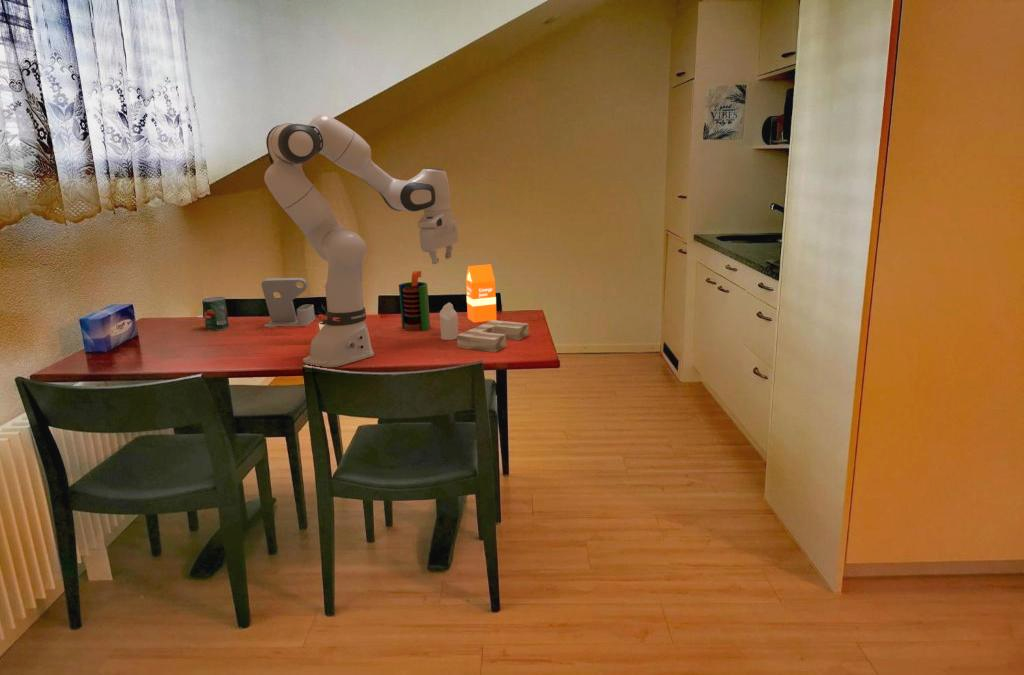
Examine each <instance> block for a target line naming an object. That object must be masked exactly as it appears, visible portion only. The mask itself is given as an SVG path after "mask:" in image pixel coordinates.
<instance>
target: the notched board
mask: <svg viewBox="0 0 1024 675" xmlns="http://www.w3.org/2000/svg"><path fill="white" fill-rule="evenodd" d="M529 335H530V329H529V323H524V322H515V321H505V320H491V321H486V322H484V323H482V324H480V325H478V326H476V327H474V328H473V327H472V328H471V329H468V330H466V331H463V332H460V333H458V335H457V339H456V346H457V348H459V349H466V350H468V349H469V350H475V351H481V352H489V353H497V352H498V351H500V350H503V349H505V348H507V340H513V341H520V340H522V339H525V338H526V337H529Z"/></svg>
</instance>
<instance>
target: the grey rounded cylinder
mask: <svg viewBox="0 0 1024 675" xmlns="http://www.w3.org/2000/svg"><path fill="white" fill-rule="evenodd" d="M439 323H440V339H441V340H444V341H453V340H457V335H459V318H458V313H457V311H456V310H455V309H454V305H453V304H452V303H451V302H447V303H445V304H444V305H443V306H442V309H441V310H440V311H439Z"/></svg>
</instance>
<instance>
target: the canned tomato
mask: <svg viewBox="0 0 1024 675" xmlns="http://www.w3.org/2000/svg"><path fill="white" fill-rule="evenodd" d="M201 303H202V308H203V316H204V323H205V330H206V329H207V330H206V331H208V330H212V331H211V332H214V331H213V330H218V331H223V329H224V330H226V328H227V329H229V328H230V325H229V317H228V310H227V302H226V297H224V296H214V297H213V296H212V297H208V298H207V297H205V298H203V299H202V300H201ZM228 327H229V328H228Z"/></svg>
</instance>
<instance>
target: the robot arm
mask: <svg viewBox="0 0 1024 675" xmlns="http://www.w3.org/2000/svg"><path fill="white" fill-rule="evenodd" d="M265 143H266V149H267V153H268V157H269V163H270V164H271V165H270V166H268V168H267V169H266V170H265V173H264V178H263V179H264V183H265V185H266V187H267V188H268V190H269V191H270V193H271V195H272V196H273V197H274V199H275V201H276V202H277V203H278V204H279V206H280V207H281V208H282V209H283V210H284V211H285V213H286V214H287V216H289V218H290V219H291V220H292V221H293V222H294V223H295V225H296V226H297V227H298V228H299V229H300V230H301V232H302V234H303V235H304V236H305V238H306V240H307V241H308V242H309V244H310V245H311V246H312V248H313V249H314V251H316V254H317V255H318V256H319V257H320V258H321V259H322V260H324V261H325V262H327V266H328V267H327V268H328V269H327V278H326V282H325V286H324V288H325V290H324V291H325V297H326V298H325V299H326V306H327V307H326V308H327V310H325V314H318V315H317V320H318V321H320V322H324V324H323V326H322V327H321V328H320V330H319V331H318V333H317V334H316V335H315V336H314V337H313V339H312V340H311V342H310V345H309V346H310V347H309V348H310V349H309V355H308V356H306V357H304V358H302V363H303V364H305V363H306V365H308V364H310V365H309V366H312V365H315V366H314V367H319V366H322V367H321V368H337V367H341V366H345V365H347V364H350V363H353V362H357V361H361V360H364V359H367V358H371V357H374V356H375V352H374V350H373V347H372V343H371V339H370V333H369V329H368V326H367V322H366V320H367V312H366V308H365V306H364V294H363V292H364V291H363V275H364V273H363V272H364V265H365V260H366V257H367V254H368V247H367V243H366V241H365V240H364V239H363V238H362V236H360V234H358V233H357V232H355V231H352V230H348V229H345V228H344V227H343V226H342V224H341V223H340V221H338V219H337V217H336V216H335V214H334V212H333V210H332V208H331V206H330V204H329V202H327V201H326V199H325V198H324V196H322V194H321V193H320V192H319V190H318V189H317V188H316V186H314V184H313V183H312V182H311V181H310V180H309V179H308V177H307V176H306V174H305V172H304V170H303V167H302V166H303V164H305V163H307V162H308V161H311V159H313V158H314V157H315V156H316V155H318V154H321V155H322V156H324V157H326V159H328V160H329V161H331V162H332V163H334V164H335V165H336V166H338V167H340V168H341V169H342V170H345V171H346V172H349V173H350V174H352V175H354V176H357V177H359V178H360V179H361V180H362V181H364V182H365V183H366V184H368V185H369V186H370V187H371V188H373V189H374V190H375V191H376V192H378V194H379V195H380V197H382V199H383V202H384V203H385V204H386V206H388V208H390V209H391V210H392V211H396V212H409V213H410V212H411V213H415V212H420V211H422V210H423V214H422V216H421V218H419V220H418V221H417V228H418V229H419V233H418V234H419V242H420V244H419V245H420V248H421V250H422V252H423V253H428V255H429V257H430V258H431V264H432V265H437V264H439V262H440V261H439V257H438V256H437V254H438V251H439V250H441V249H443V248H445V253H444V258H445V259H446V260H449V259H451V258H453V256H452V252H453V248H454V245H455V244H457V243H458V241H459V232H458V227H457V223H456V221H455V220H454V218H453V214H452V206H451V204H450V203H451V202H450V197H451V192H450V183H449V178H448V176H447V175H448V174H447V172H446V171H445V170H444V169H442V168H435V167H424V168H422V170H421V171H420V172H419V173H418V174H416V175H415V176H413V177H412V178H410V179H407V180H403V179H400V178H394V177H392V176H391V175H390V174H388V173H387V172H386V171H384V170H383V169H382V168H380V167H379V166H378V165H377V164H376V163H374V162H373V159H372V149H371V146H370V145H369V143H367V141H366V140H365V139H364V138H363V137H362V136H361V135H359V134H358V133H357V132H356V131H354V130H353V129H351V128H350V127H349V126H348V125H346V124H344V123H343V122H341V121H339V120H337V119H336V118H334V117H332V116H330V115H328V114H318V115H317V116H315V117H313V118H312V119H311V121H309V124H303V123H289V122H287V123H286V122H285V123H282V124H278V125H276V126H273V127H272V128H271V129H270V130H269V132H268V133H267V135H266V142H265ZM453 244H454V245H453Z"/></svg>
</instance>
